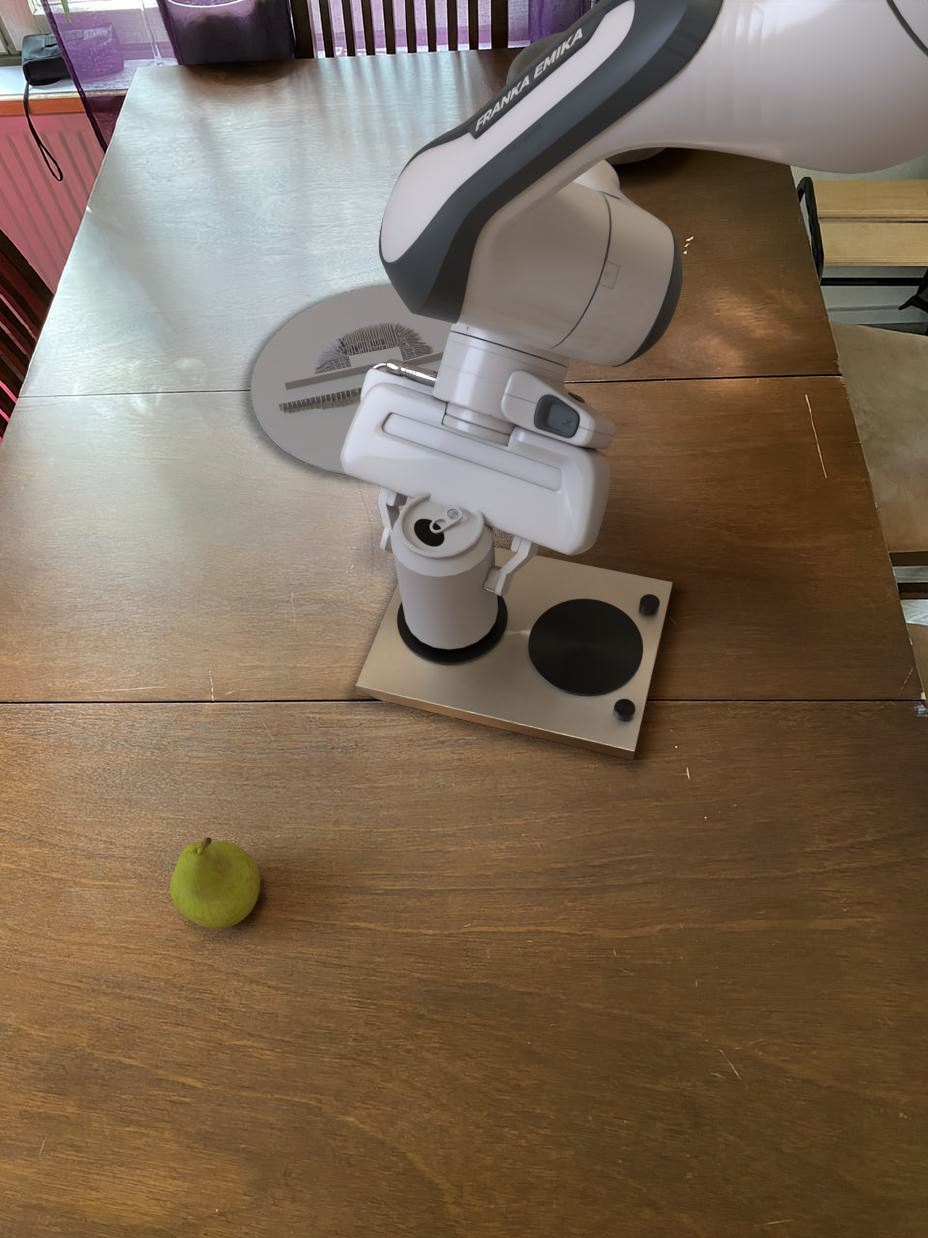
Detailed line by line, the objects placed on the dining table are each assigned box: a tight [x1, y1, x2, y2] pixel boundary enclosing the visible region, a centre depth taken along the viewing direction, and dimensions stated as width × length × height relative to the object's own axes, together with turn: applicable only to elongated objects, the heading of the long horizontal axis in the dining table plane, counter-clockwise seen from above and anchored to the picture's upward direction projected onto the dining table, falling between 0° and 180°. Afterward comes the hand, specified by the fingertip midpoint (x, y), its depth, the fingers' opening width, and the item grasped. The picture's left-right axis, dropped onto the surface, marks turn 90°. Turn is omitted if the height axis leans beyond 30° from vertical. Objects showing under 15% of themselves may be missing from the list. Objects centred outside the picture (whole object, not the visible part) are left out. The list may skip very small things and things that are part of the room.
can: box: [391, 492, 498, 649], centre depth 73 cm, size 8×8×12 cm
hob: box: [355, 546, 674, 761], centre depth 78 cm, size 22×16×2 cm
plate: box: [250, 283, 453, 475], centre depth 97 cm, size 28×28×1 cm
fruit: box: [169, 837, 261, 930], centre depth 63 cm, size 6×6×12 cm
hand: (442, 571), depth 73 cm, fingers closed on can, 7 cm apart
